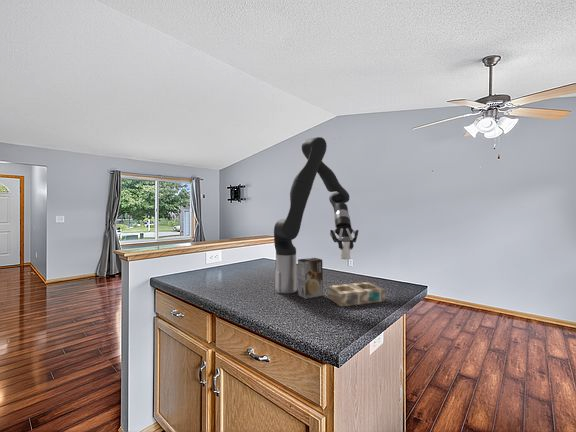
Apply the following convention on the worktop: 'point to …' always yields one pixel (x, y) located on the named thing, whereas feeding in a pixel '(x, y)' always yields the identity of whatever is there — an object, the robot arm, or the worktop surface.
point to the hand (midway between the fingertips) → (346, 248)
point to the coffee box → (310, 277)
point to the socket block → (356, 294)
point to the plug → (345, 248)
